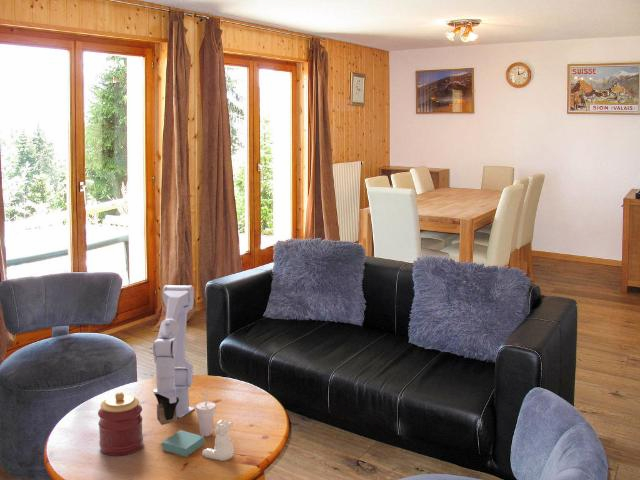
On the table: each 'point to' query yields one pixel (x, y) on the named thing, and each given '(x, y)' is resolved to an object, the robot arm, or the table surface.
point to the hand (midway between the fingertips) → (166, 415)
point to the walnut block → (161, 415)
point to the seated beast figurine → (221, 443)
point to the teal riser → (183, 443)
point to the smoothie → (205, 416)
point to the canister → (120, 425)
